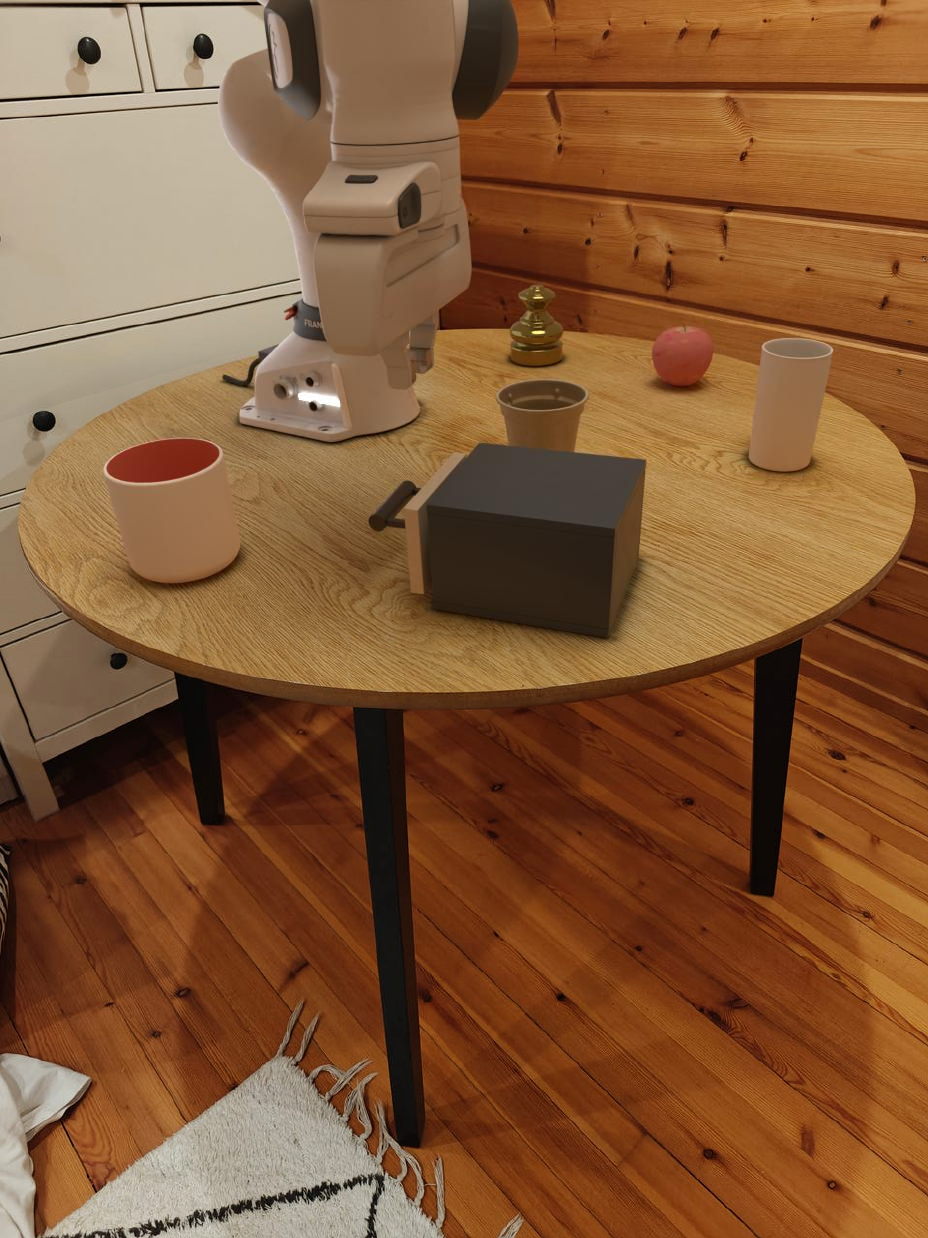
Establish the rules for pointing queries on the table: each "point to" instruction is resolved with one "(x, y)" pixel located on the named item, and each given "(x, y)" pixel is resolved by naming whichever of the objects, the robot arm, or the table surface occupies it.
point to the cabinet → (537, 537)
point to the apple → (682, 355)
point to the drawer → (415, 520)
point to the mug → (788, 402)
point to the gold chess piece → (536, 330)
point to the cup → (174, 508)
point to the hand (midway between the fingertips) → (412, 378)
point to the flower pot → (542, 413)
